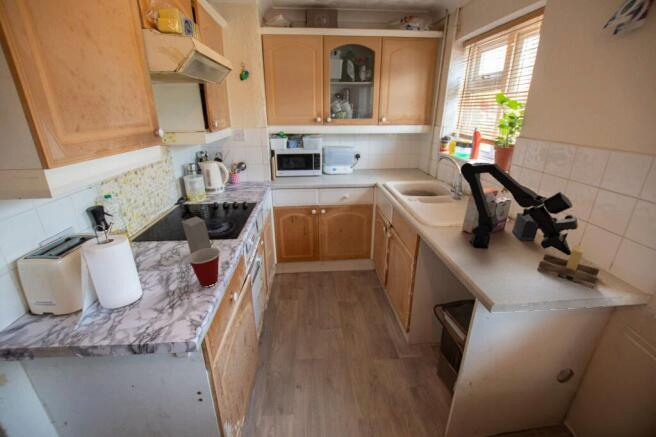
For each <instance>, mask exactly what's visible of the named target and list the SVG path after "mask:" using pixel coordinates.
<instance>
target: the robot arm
mask: <svg viewBox="0 0 656 437" xmlns="http://www.w3.org/2000/svg"><path fill="white" fill-rule="evenodd" d="M460 173H461V175H462V177H463V178H464V180H465V181H466V182H467V183H468V185H469V188H470V191H471V192H472V195H473V198H474V201H475V204H476V207H477V211H478V226H476V227H475V228H474V229H472V232H473V233H471V238H470V240H469V241H468V242H469V243H470V244H471V246H472V247H473V249H474V248H475V249H489V244H490V240H491V235H490V234H491V233H490V232H492V231H493V230H494V229H495V228H496V227H497V225H498V222H499V221H498V219H497V216H496V213H494V214H492V213H491V211H490V210H489V207H488V204H487V201H486V197H485V194H484V191H483V189H484V188H483V186H482V185H483V184H482V182H481V174H489V175H490V176H492V177H493V178H494V179H495V180H496V181H497V182H498V183H500V184H501V186H503V187H504V188H505V189H506V190H507V191H508V192H509V193H511V195H512V197H513V199H514V200H515V202H516V203H517V204H518V205H519V207H521V208H523V214H522V216H525V215H527V214H529V215H530V217H531V218H532V219H533V221H534V222H535V223H536V225H537V227H536V228H537V229H538V230H540V231H541V232H542V234H543V235H542V237H543V238H542V239H541V242H540V246H541V247H542V248H543V249H544V250H546V249H548V248H551V247H552V248H554V249H555V250H558V251H559V252H561V253H563V254H565V255H567V256H570V255H571V252H572V250H571V248H570V247H569V244H568V241H567V237H568V235H569V233H568V232H567V233H563V231H569V230H572V231H573V230H577V229H578V227H579V224H578V218H576V217H574V216H573V215H572V214H567V215H565V217H564V218H561V219H557V217H552V215H551V214H554V215H557V214H558V215H559V213H562V212H565V211H567V210H569V209H571V208H573V203H572V201H571V200H570V199H569V197H567V196H566V195H565V194H564V193H562V192H561V191H559V192H557V193H555V194H553V195H552V196H549V197H546V196H542V195H539V194H537V192H535V191H533V190H532V189H531V188H529V187H526V186H524V185H522V184H520V183H519V182H518V181H517V180H516V179H515V178H513V177H512V176H511V175H510V174H509V173H508V172H506V171H505V170H504V169H503V168H502V167H500V166H499V165H498V163H497V162H493V161H492V162H478V161H475V160H471V161H470V160H469V161H468V162H466V163H463V164H462V165H461V167H460Z"/></svg>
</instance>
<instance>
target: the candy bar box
mask: <svg viewBox="0 0 656 437" xmlns="http://www.w3.org/2000/svg"><path fill="white" fill-rule="evenodd" d="M512 200H513V199H511V198H508V197H504V196H502V197H498V198H496V199H495V200H492V201H491V203H490V207H489V210H490V211H491V213H492V214H494V213H496V216H497V219H498V221H499V222H498V225H497V227H496V228H495V229H494V230H493V231H492V232H490V233H489V234H493V233H497V232H501V231H503V230H506V225H507V224H506V223H507V221H508V218H509V211H510V207H511V204H512Z"/></svg>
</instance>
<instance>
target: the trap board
mask: <svg viewBox="0 0 656 437" xmlns="http://www.w3.org/2000/svg"><path fill="white" fill-rule="evenodd" d="M568 260H569V259H567V258H562V257H560V256H556V255H553V254H549V253H546V252H545V253H544V255H543V258H542V259H540V261H539V264H538V266H537V269H536V270H537V271H539V272H541V273H545V274H549V275H551V276H554V277H558V278H560V279H564V280H566V281H568V282H572V283H575V284H578V285H581V286H584V287H587V288H591V289H594V287H595V285H596V283H597V280H598V279H599V278H598V274H599V272H600V268H597V267H593V266H590V265H587V264H584V263H581V262H579V264H578V266H577V269H576V271H575V270H572V269H569V268H566V265H567V263H568Z"/></svg>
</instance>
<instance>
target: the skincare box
mask: <svg viewBox="0 0 656 437" xmlns="http://www.w3.org/2000/svg"><path fill="white" fill-rule="evenodd" d="M181 221H182V222H181V223H182V226H183V229H184V233H185V238H186V240H187V244H188V248H189V252H190V254H192V253H194V252H196V251H198V250H202V249H207V248H212V246H211V241H210V237H209V233H208V228H207V225H206V220H203V219H202V218H200V217H199V216H194V217H191V218H188V219H184V220H181Z"/></svg>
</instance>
